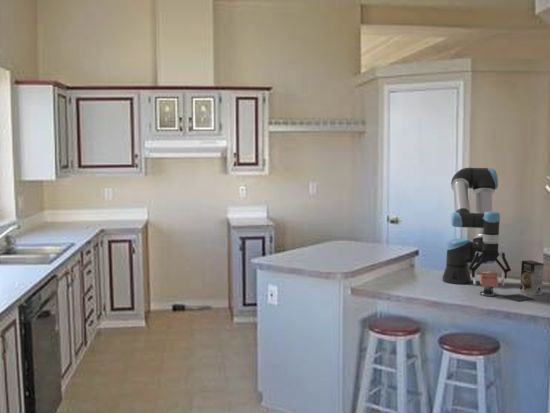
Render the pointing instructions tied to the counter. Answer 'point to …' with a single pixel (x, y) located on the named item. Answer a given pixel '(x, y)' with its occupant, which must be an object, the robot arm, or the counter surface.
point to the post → (488, 292)
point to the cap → (489, 279)
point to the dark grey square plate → (518, 297)
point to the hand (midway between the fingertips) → (488, 284)
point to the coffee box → (531, 277)
